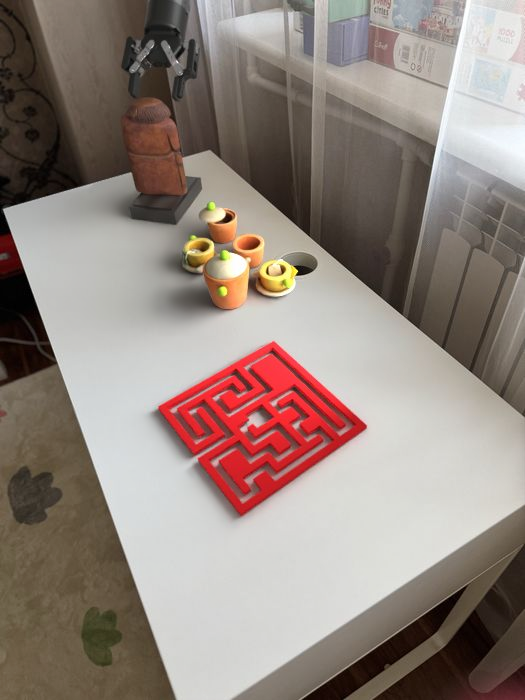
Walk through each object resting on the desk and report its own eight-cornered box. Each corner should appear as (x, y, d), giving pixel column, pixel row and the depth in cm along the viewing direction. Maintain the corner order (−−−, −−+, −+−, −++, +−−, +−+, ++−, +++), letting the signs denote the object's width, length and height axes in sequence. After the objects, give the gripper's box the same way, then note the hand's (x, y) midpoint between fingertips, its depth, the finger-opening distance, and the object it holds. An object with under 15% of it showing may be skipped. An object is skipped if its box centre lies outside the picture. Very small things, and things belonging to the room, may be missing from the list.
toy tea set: (308, 291, 90) (308, 243, 83) (226, 327, 85) (220, 279, 78) (233, 221, 106) (228, 175, 99) (161, 247, 101) (151, 202, 94)
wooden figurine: (194, 182, 111) (180, 92, 98) (186, 198, 107) (170, 106, 94) (140, 180, 113) (119, 91, 100) (130, 196, 108) (106, 105, 95)
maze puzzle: (158, 409, 74) (157, 406, 73) (274, 343, 81) (273, 340, 81) (241, 516, 62) (240, 514, 62) (366, 428, 70) (367, 425, 69)
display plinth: (131, 218, 108) (127, 205, 106) (160, 184, 117) (157, 171, 115) (176, 224, 106) (174, 211, 104) (202, 189, 115) (200, 176, 113)
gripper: (123, -5, 96) (109, 86, 97) (197, -4, 92) (182, 91, 93) (143, 19, 103) (130, 104, 104) (211, 21, 100) (197, 109, 100)
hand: (154, 98), depth 99 cm, fingers open, 8 cm apart
